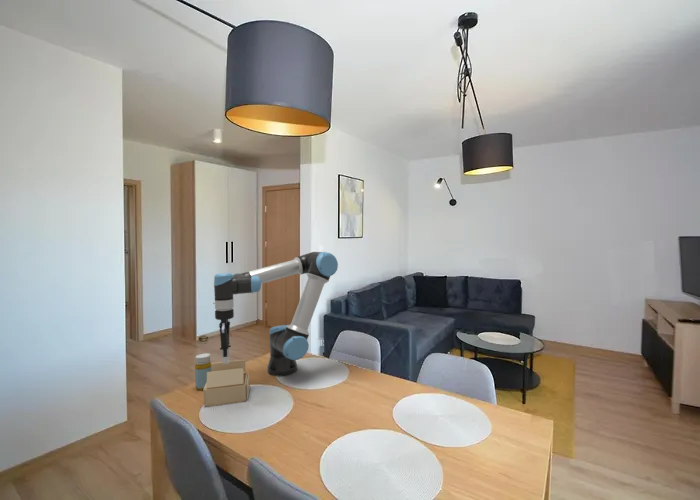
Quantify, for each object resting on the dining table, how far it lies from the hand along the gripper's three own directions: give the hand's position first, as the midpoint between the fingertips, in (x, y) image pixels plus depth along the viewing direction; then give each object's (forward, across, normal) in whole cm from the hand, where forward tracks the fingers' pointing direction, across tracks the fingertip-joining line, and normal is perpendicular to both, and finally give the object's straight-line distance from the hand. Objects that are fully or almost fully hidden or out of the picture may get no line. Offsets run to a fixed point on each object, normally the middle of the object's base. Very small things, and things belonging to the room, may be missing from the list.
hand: (225, 363), depth 146 cm
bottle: (+15, -13, -12) cm, 23 cm away
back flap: (+4, -6, 0) cm, 7 cm away
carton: (+15, 0, 0) cm, 15 cm away
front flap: (+4, +6, 0) cm, 7 cm away
